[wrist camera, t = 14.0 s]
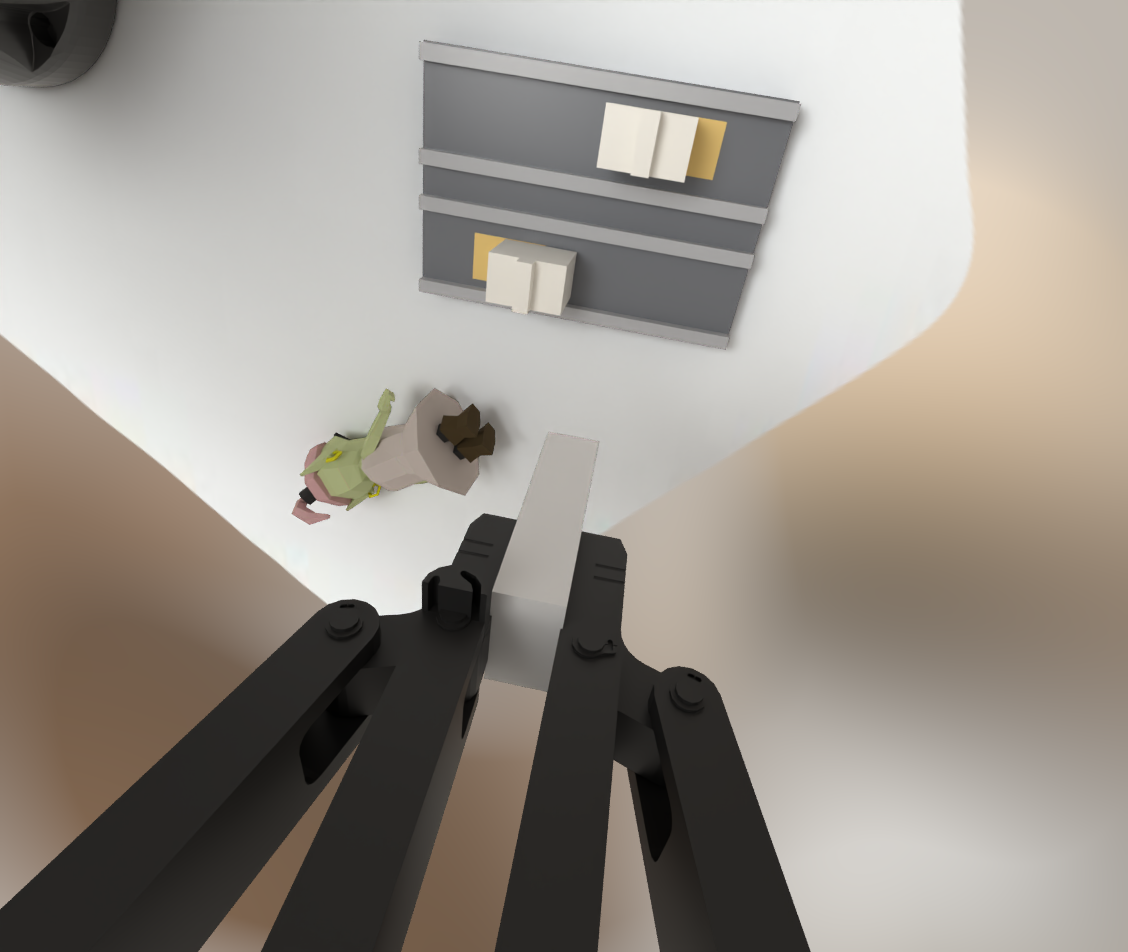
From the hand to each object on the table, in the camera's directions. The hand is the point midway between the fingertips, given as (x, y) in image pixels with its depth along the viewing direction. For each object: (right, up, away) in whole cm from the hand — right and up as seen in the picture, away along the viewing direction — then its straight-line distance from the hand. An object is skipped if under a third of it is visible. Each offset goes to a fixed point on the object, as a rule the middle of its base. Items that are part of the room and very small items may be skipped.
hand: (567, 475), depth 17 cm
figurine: (-12, +3, +25) cm, 27 cm away
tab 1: (-1, +12, +15) cm, 19 cm away
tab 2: (+4, +16, +11) cm, 20 cm away
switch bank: (+1, +15, +14) cm, 21 cm away
